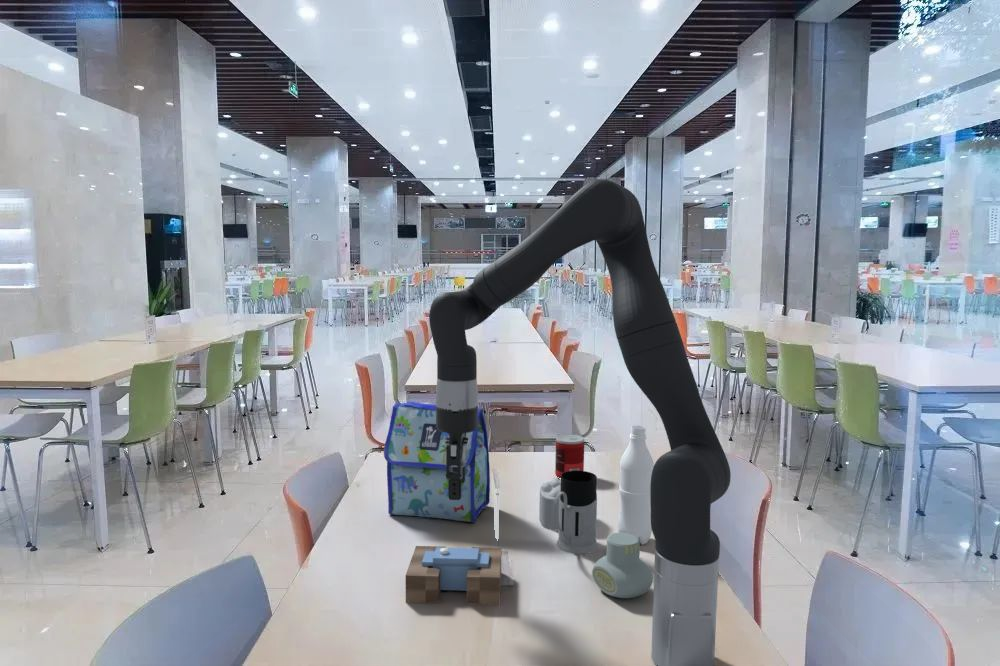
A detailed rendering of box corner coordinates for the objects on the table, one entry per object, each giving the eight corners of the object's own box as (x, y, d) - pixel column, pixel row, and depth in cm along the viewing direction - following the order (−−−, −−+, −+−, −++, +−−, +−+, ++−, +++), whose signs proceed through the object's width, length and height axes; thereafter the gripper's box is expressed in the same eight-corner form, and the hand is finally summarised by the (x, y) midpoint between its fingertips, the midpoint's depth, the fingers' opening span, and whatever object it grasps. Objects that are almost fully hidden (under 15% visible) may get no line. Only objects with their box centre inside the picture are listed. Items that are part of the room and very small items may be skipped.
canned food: (588, 475, 187) (589, 436, 186) (575, 483, 181) (576, 443, 179) (563, 470, 191) (564, 432, 190) (550, 478, 185) (551, 439, 183)
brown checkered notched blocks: (499, 604, 118) (499, 577, 117) (405, 602, 118) (405, 575, 118) (501, 572, 130) (501, 547, 129) (416, 570, 130) (416, 545, 130)
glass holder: (605, 542, 144) (606, 474, 142) (573, 567, 132) (575, 494, 130) (568, 532, 149) (570, 466, 147) (535, 556, 137) (536, 485, 135)
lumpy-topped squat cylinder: (541, 530, 150) (541, 492, 149) (537, 508, 163) (537, 473, 162) (587, 530, 150) (588, 492, 149) (580, 508, 163) (581, 473, 162)
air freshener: (659, 598, 121) (661, 545, 119) (623, 610, 117) (625, 555, 115) (620, 573, 130) (621, 523, 129) (585, 583, 126) (586, 532, 125)
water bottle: (651, 549, 141) (656, 432, 138) (617, 545, 142) (620, 430, 139) (651, 535, 148) (655, 423, 145) (618, 532, 149) (621, 421, 146)
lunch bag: (381, 520, 155) (379, 409, 152) (407, 495, 171) (406, 394, 168) (473, 530, 149) (474, 415, 146) (492, 503, 165) (493, 399, 162)
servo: (488, 591, 122) (488, 556, 121) (422, 589, 122) (421, 554, 121) (489, 579, 126) (489, 545, 125) (425, 577, 127) (425, 543, 126)
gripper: (440, 394, 127) (440, 477, 129) (431, 412, 113) (431, 505, 115) (480, 395, 127) (479, 478, 129) (475, 412, 113) (475, 505, 115)
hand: (457, 490), depth 122 cm, fingers open, 8 cm apart
